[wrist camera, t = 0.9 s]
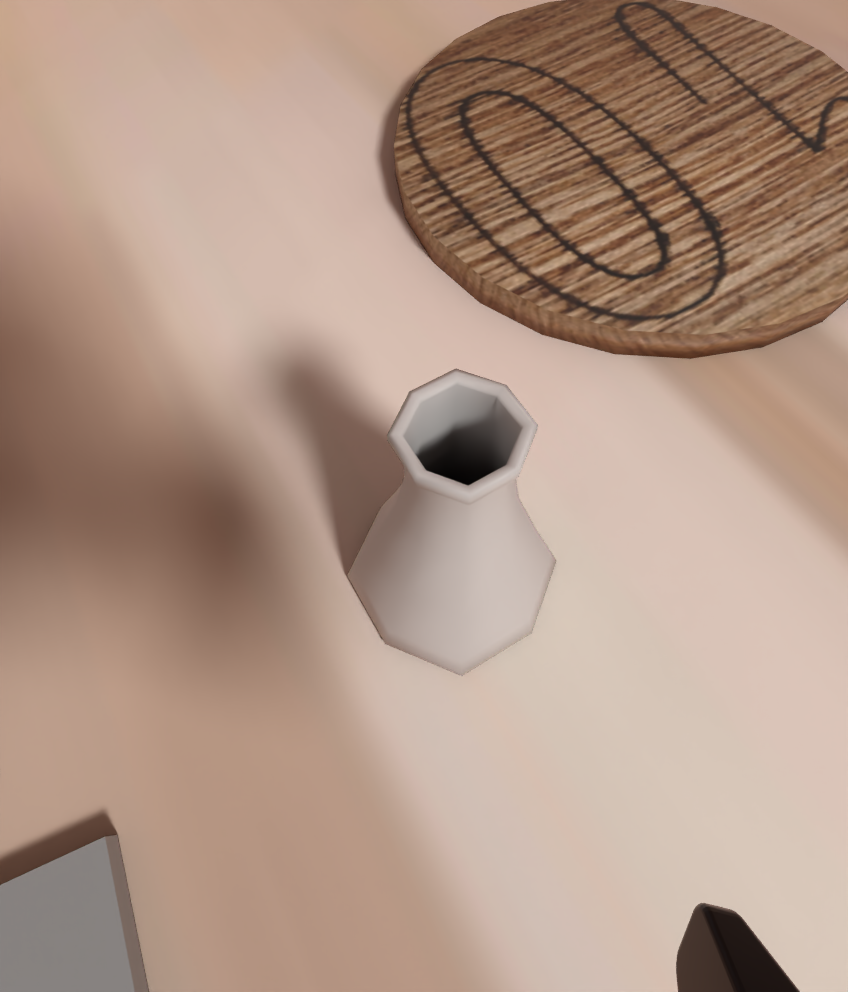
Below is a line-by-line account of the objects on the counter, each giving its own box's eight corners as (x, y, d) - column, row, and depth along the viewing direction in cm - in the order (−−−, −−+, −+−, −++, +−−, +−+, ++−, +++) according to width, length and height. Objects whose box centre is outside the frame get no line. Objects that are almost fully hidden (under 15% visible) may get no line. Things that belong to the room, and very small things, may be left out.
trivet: (654, -13, 40) (664, -49, 38) (995, 217, 31) (1029, 183, 29) (311, 127, 34) (305, 93, 33) (600, 460, 25) (613, 436, 23)
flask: (465, 716, 21) (488, 661, 12) (313, 580, 23) (233, 444, 14) (589, 560, 23) (689, 414, 14) (440, 450, 25) (444, 259, 16)
